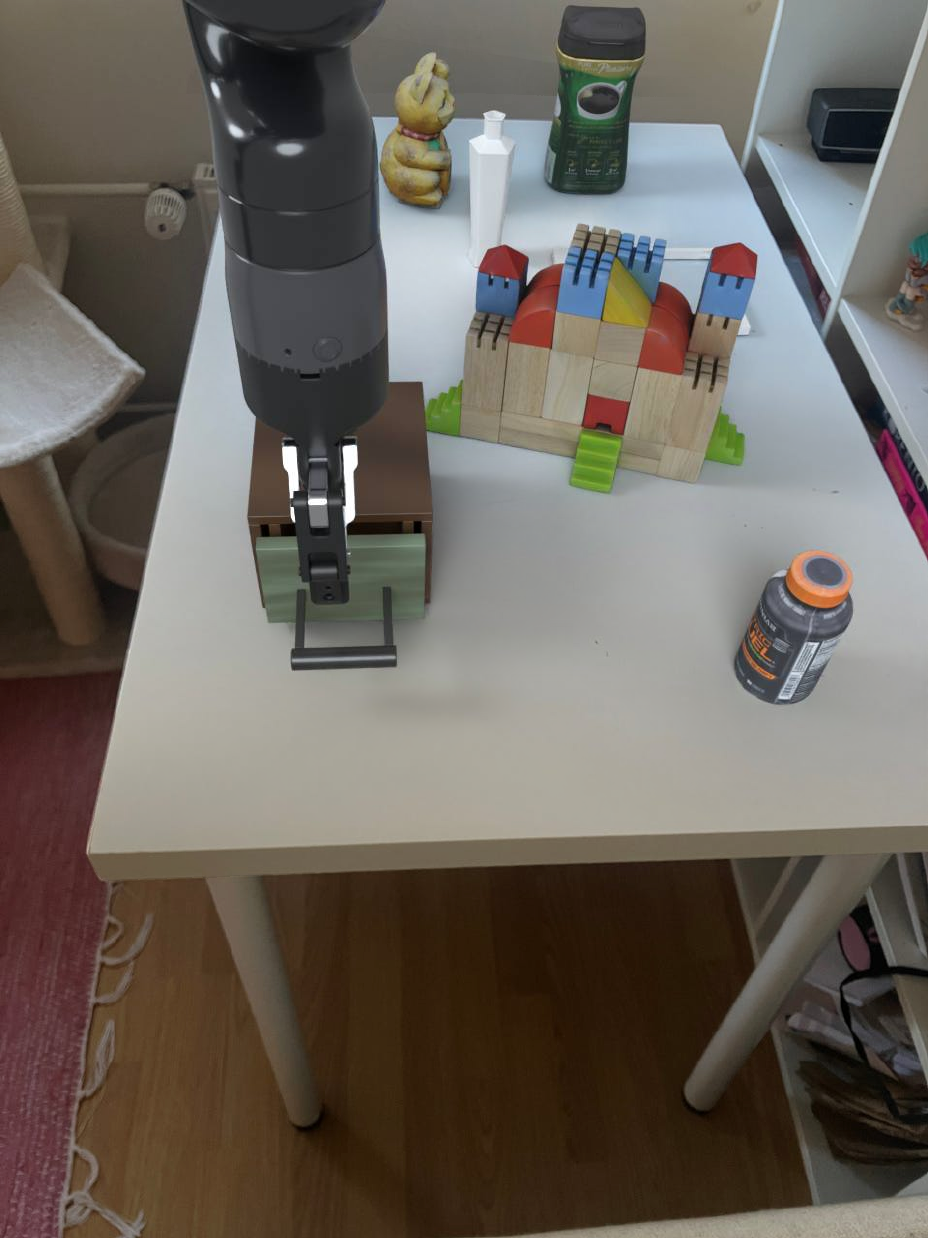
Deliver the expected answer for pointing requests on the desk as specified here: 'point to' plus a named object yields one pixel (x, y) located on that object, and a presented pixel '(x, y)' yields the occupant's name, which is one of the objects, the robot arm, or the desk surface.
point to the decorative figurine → (420, 137)
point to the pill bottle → (795, 628)
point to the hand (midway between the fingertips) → (330, 547)
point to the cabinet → (358, 473)
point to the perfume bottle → (489, 185)
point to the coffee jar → (594, 98)
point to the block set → (602, 359)
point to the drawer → (377, 590)
